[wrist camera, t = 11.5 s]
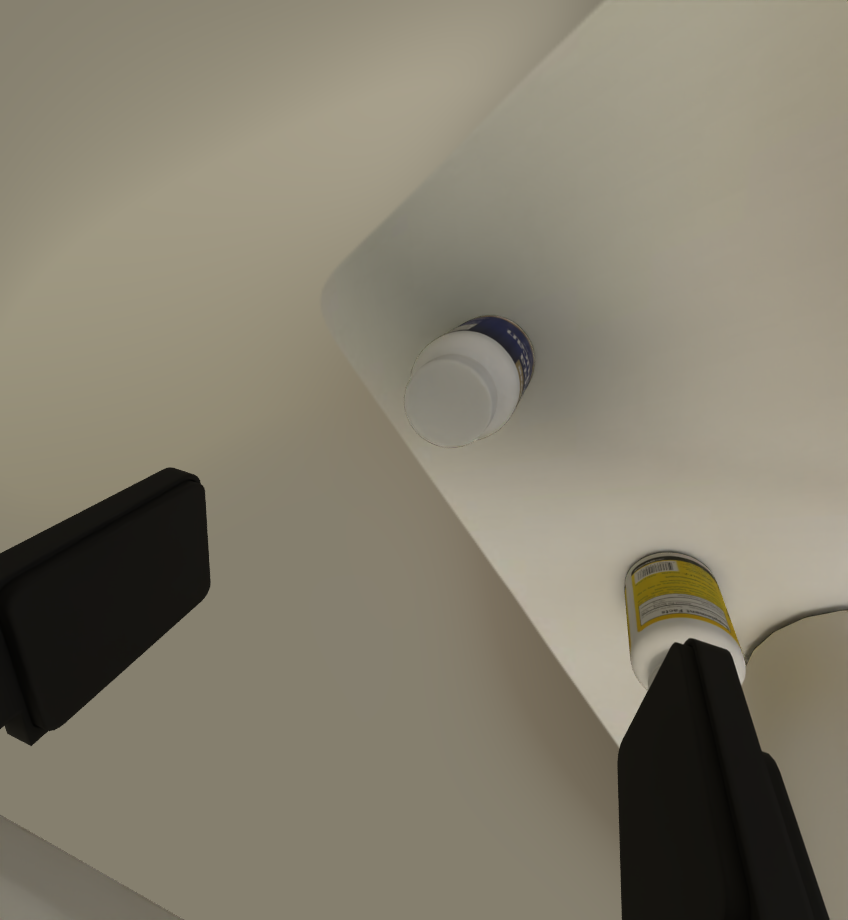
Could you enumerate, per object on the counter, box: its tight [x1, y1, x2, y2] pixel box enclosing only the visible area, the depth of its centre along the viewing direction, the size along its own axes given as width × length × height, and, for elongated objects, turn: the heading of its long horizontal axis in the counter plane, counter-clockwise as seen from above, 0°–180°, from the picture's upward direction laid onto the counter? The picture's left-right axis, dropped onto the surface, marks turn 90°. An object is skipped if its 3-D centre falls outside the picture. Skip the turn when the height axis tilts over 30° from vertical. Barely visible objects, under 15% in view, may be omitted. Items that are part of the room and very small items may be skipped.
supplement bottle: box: [625, 552, 746, 690], centre depth 27 cm, size 5×5×10 cm
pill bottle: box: [404, 315, 535, 448], centre depth 25 cm, size 5×5×10 cm
